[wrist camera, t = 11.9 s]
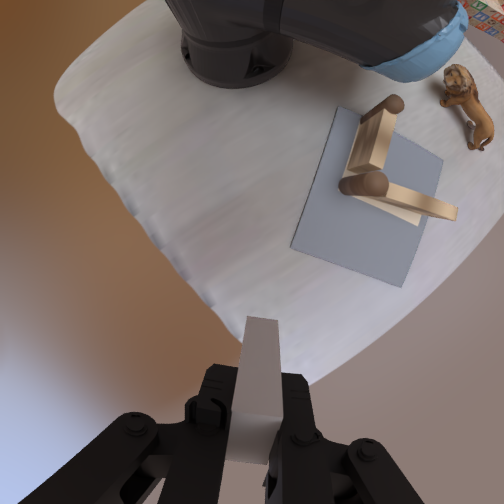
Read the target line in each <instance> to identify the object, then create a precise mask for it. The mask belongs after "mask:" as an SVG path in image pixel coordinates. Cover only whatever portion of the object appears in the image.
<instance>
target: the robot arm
mask: <svg viewBox="0 0 504 504" xmlns="http://www.w3.org/2000/svg"><path fill="white" fill-rule="evenodd" d="M165 2H166V3H167V5H168V6H169V8H170V9H171V11H172V13H173V14H174V16H175V18H176V19H177V21H178V22H179V24H180V26H181V27H182V39H181V51H182V55H183V58H184V60H185V62H186V64H187V65H188V67H189V68H190V70H191V71H192V72H193V73H194V74H195V75H196V76H197V77H198V78H199V79H201V80H202V81H204V82H206V83H208V84H211V85H214V86H217V87H222V88H246V87H251V86H255V85H258V84H261V83H263V82H265V81H267V80H269V79H271V78H272V77H274V76H275V75H277V74H278V73H279V72H280V71H281V70H282V69H283V68H284V67H285V65H286V64H287V62H288V61H289V58H290V56H291V52H292V47H293V39H295V40H298V41H301V42H304V43H307V44H310V45H313V46H316V47H318V48H321V49H324V50H326V51H329V52H331V53H334V54H336V55H338V56H341V57H343V58H345V59H348V60H350V61H352V62H354V63H356V64H358V65H359V66H360V67H361V68H364V69H367V70H373V71H375V72H377V73H380V74H382V75H384V76H386V77H388V78H390V79H392V80H394V81H397V82H402V83H408V82H416V81H420V80H422V79H425V78H427V77H428V76H430V75H432V74H433V73H435V72H436V71H438V70H439V69H440V68H441V67H442V66H444V65H445V64H446V63H447V62H448V61H449V60H450V58H451V57H452V56H453V55H454V54H455V53H456V51H457V50H458V48H459V47H460V45H461V43H462V42H463V39H464V35H463V33H464V32H465V31H466V30H467V29H468V22H469V20H468V15H467V12H466V10H465V9H464V8H463V6H462V4H461V3H460V2H459V1H458V0H165ZM310 399H311V398H310V393H309V386H308V382H307V381H306V380H305V378H304V377H303V376H302V374H292V373H282V372H281V362H280V346H279V330H278V320H272V319H265V318H258V317H251V316H247V321H246V326H245V332H244V338H243V344H242V350H241V356H240V362H239V368H238V367H231V366H225V365H220V364H213V365H212V366H211V367H209V368H208V369H207V370H206V373H205V376H204V380H203V382H202V385H201V388H200V391H199V394H198V395H197V396H194V397H192V398H190V399H189V400H188V401H187V402H186V404H185V420H184V421H182V422H179V423H173V424H156V422H155V420H154V419H153V418H151V417H150V416H148V415H146V414H143V413H140V412H129V413H124V414H123V415H121V416H119V417H118V418H117V419H116V420H115V421H113V422H112V423H111V424H110V425H109V426H108V427H107V428H106V429H105V430H104V431H102V432H101V433H100V434H99V435H98V436H97V437H96V438H95V439H93V440H92V441H91V442H90V443H89V444H88V445H87V446H86V447H84V448H83V449H82V450H81V451H80V452H79V453H78V454H76V455H75V456H74V457H73V458H72V459H71V460H70V461H68V462H67V463H66V464H65V465H64V466H63V467H61V468H60V469H59V470H58V471H57V472H56V473H54V474H53V475H52V476H51V477H50V478H48V479H47V480H46V481H45V482H44V483H42V484H41V485H40V486H39V487H37V488H36V489H35V490H34V491H33V492H31V493H30V494H29V495H28V496H26V497H25V498H24V499H23V500H22V501H20V502H19V503H18V504H142V503H143V502H144V501H145V500H146V498H147V497H148V495H150V493H151V492H152V491H153V489H154V488H155V487H156V485H157V484H158V483H159V482H160V480H161V479H162V478H166V479H165V482H164V485H163V488H162V491H161V494H160V497H159V500H158V503H157V504H218V498H219V492H220V486H221V480H222V473H223V467H224V462H225V460H231V461H237V462H245V463H254V464H264V465H267V463H268V460H269V470H268V472H267V475H266V477H265V480H264V482H263V485H262V486H264V487H265V486H266V491H265V504H424V503H423V501H422V500H421V498H420V497H419V496H418V494H417V493H416V491H415V490H414V488H413V487H412V486H411V484H410V483H409V481H408V480H407V479H406V477H405V476H404V474H403V473H402V472H401V470H400V469H399V467H398V466H397V464H396V463H395V462H394V460H393V459H392V458H391V456H390V454H389V453H388V452H387V451H386V449H385V448H384V447H383V445H382V444H380V443H379V442H377V441H375V440H373V439H368V438H362V439H357V440H355V441H353V442H352V443H351V444H350V445H349V446H348V445H344V444H339V443H335V442H332V441H329V440H327V439H325V438H324V437H323V435H322V433H321V432H320V431H319V430H318V429H317V428H316V426H315V421H314V415H313V409H312V403H311V400H310Z"/></svg>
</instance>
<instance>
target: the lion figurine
mask: <svg viewBox="0 0 504 504" xmlns="http://www.w3.org/2000/svg"><path fill="white" fill-rule="evenodd" d="M443 83H444V84H445V85H446V88H447V90H446V91H445V94H446V95H447V96H448V97H450V98H449V99H448V100H447V101H445V100H443V99H442V100H440V104H441V106H443V107H449V106H450V105H461V107H462V108H463V110H464V112H465V113H466V114H467V116H468V117H469V118H470V119H471V120H472V121H474V122H475V124H476V126H474V125H473V123H472V122H471V121H470V120H469V121H468V122H467V124H468V126H469V127H470V128H471V129H473V130H474V134H473V138H474V145H473V143H472V142H468V148H469V149H471V150H474V149H477V148H479V147H480V149H481V150H482V151H484V148H483V146H486V145H487V144H489V143H490V142H491V141H492V140H493V137H494V125H493V121H492V119H491V118H490V116H489V115H488V114H487V112H486V111H485V110H484V108H483V106H482V105H481V103H480V101H479V100H478V91H477V88H476V84H475V83H474V79H473V78H472V75H471V74H470V73H469V71H468V70H467V69H466V68H465V67H463V66H461V65H459V64H452V65H451V66H449V67H447V68H445V70H444V80H443ZM486 138H488V139H487V140H486V141H485V142H483V143H482V144H481V145H480V143H481V141H482V140H484V139H486Z"/></svg>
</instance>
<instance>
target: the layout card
mask: <svg viewBox="0 0 504 504" xmlns="http://www.w3.org/2000/svg"><path fill="white" fill-rule="evenodd" d="M361 117H363V116H361V115H359V114H357V113H355V112H353V111H350V110H348V109H346V108H343V107H341V106H338V108H337V111H336V115H335V118H334V121H333V124H332V127H331V130H330V133H329V136H328V140H327V143H326V146H325V149H324V152H323V155H322V158H321V161H320V164H319V167H318V170H317V173H316V176H315V179H314V181H313V184H312V187H311V190H310V193H309V196H308V199H307V202H306V204H305V207H304V210H303V213H302V216H301V219H300V221H299V224H298V227H297V230H296V232H295V235H294V238H293V241H292V243H291V246H290V248H292V249H295V250H297V251H300V252H303V253H306V254H309V255H312V256H314V257H317V258H320V259H323V260H326V261H328V262H331V263H334V264H337V265H340V266H342V267H345V268H348V269H351V270H354V271H356V272H359V273H362V274H365V275H367V276H370V277H373V278H376V279H378V280H381V281H384V282H386V283H389V284H392V285H395V286H397V287H400V288H402V285H403V283H404V281H405V278H406V276H407V274H408V271H409V269H410V266H411V264H412V261H413V259H414V256H415V253H416V251H417V248H418V245H419V243H420V240H421V237H422V234H423V231H424V228H425V225H426V222H427V219H428V216H425V215H421V214H418V213H415V212H412V211H409V210H406V209H403V208H400V207H397V206H393V205H390V204H387V203H383V202H380V201H377V200H373V199H370V198H366V197H363V196H348V195H344V194H342V193H341V192H340V190H339V188H338V184H339V181H340V180H341V179H342V178H344V177H348V176H353V175H358V174H356V173H353V172H351V171H349V170H346V169H347V166H348V163H349V160H350V157H351V154H352V150H353V147H354V144H355V141H356V137H357V134H358V131H359V127H360V125H361V124H360V119H361ZM442 165H443V160H442V159H441V158H439V157H437V156H436V155H434V154H433V153H431V152H429V151H428V150H426V149H424V148H423V147H421V146H419V145H418V144H416V143H414V142H412V141H411V140H409V139H407V138H405V137H403V136H402V135H400V134H398V133H396V132H394V131H393V134H392V138H391V142H390V145H389V149H388V153H387V156H386V160H385V163H384V167H383V169H382V170H376V171H380V172H382V173H384V174H385V175H386V176H387V178H388V181H389V182H390V183H393V184H396V185H399V186H402V187H405V188H408V189H411V190H414V191H416V192H419V193H422V194H425V195H427V196H430V197H433V198H434V196H435V192H436V189H437V185H438V181H439V177H440V173H441V169H442ZM371 172H373V171H371ZM366 173H368V172H366ZM361 174H363V173H361Z"/></svg>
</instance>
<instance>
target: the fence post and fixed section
mask: <svg viewBox="0 0 504 504" xmlns="http://www.w3.org/2000/svg"><path fill="white" fill-rule="evenodd" d="M403 109H404V102H403V100H402V99H401V98H400V97H399V96H398V95H395V94H392V95H390V96H389V97H387V98H386V99H385V100H383V101H382V102H381V103H379V104H378V105H377V106H375V107H374V108H373V109H372V110H370V111H369V112H368V113H366V114H365V115H364V116H363V117H361V119H360V124H361V125H360V127H359V131H358V134H357V137H356V141H355V144H354V147H353V150H352V154H351V157H350V160H349V163H348V166H347V169H346V170H349V171H351V172H353V173H356V174H358V175H353V176H348V177H344V178H342V179H341V180H340V181H339V184H338V188H339V190H340V192H341V193H342V194H344V195H348V196H376V197H380V196H383V195H384V194H386V192H387V191H388V188H389V181H388V178H387V176H386V175H385V174H384V173H382V172H380V171H376V170H382V169H383V167H384V163H385V160H386V156H387V153H388V149H389V145H390V142H391V138H392V134H393V130H394V126H395V122H396V118H397V115H396V114H398V113H399V112H401V111H403ZM371 171H373V172H371ZM366 172H368V173H366ZM361 173H363V174H361Z"/></svg>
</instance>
